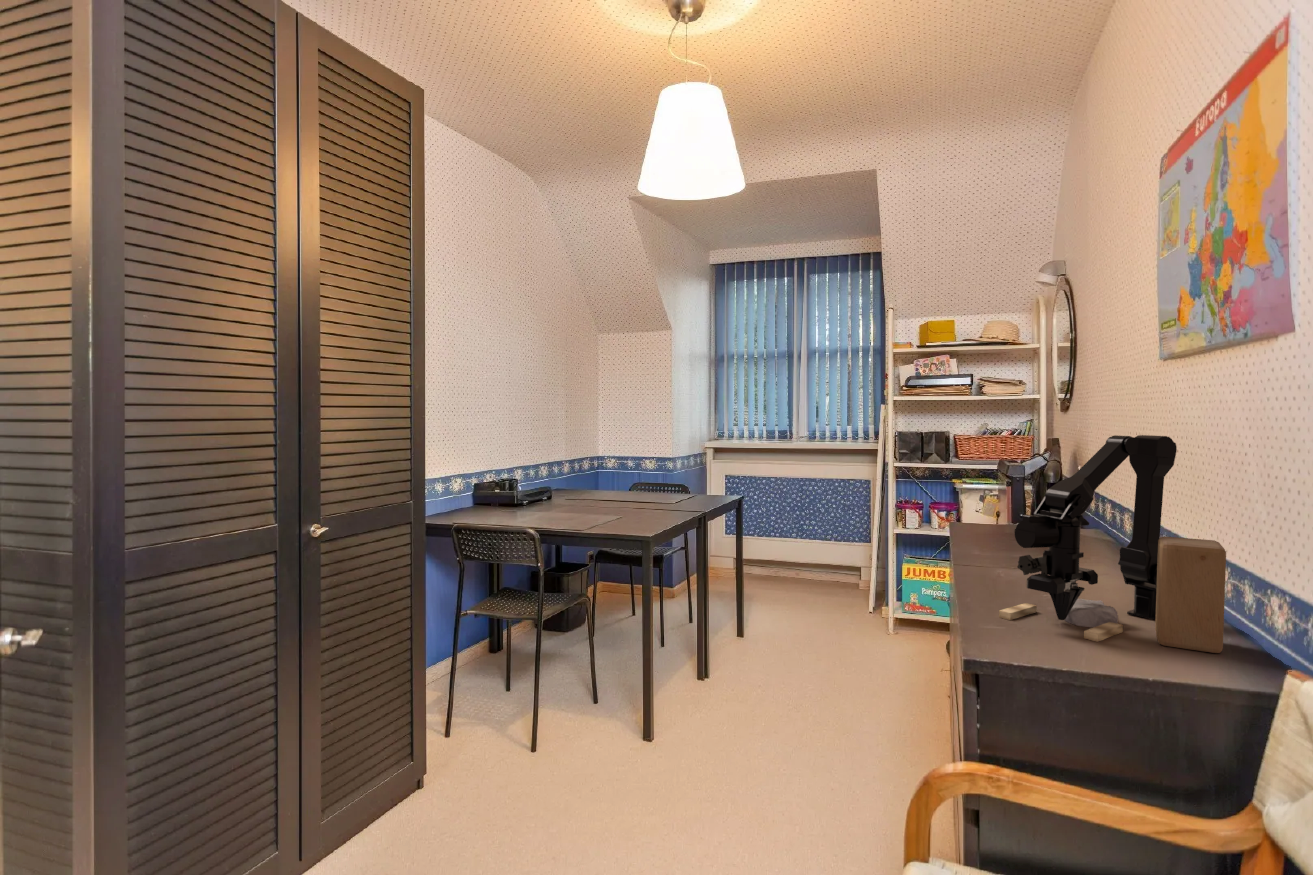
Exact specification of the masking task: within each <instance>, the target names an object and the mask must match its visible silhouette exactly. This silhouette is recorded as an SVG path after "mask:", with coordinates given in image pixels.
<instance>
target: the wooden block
mask: <svg viewBox="0 0 1313 875" xmlns="http://www.w3.org/2000/svg"><path fill="white" fill-rule="evenodd" d="M1226 566H1227V551H1226V549H1225V547H1223V545H1222V544H1221V543H1220V542H1219V541H1217V540H1215V539H1214V540H1213V539H1201V538H1189V537H1188V538H1187V537H1177V536H1161V537H1160V538H1159V540H1158V561H1157V591H1156V620H1155V625H1154V627H1155V628H1154V629H1155V634H1156V639H1157V642H1158V644H1159V645H1162V646H1163V647H1168V648H1169V647H1171V648H1177V649H1184V650H1190V651H1198V652H1203V653H1211V654H1220V653H1222V651H1223V650H1224V624H1225V598H1226V573H1227V572H1226V571H1227V570H1226V568H1227V567H1226Z"/></svg>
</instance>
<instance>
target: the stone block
mask: <svg viewBox="0 0 1313 875" xmlns="http://www.w3.org/2000/svg"><path fill="white" fill-rule="evenodd" d="M1064 621H1065V622H1066V623H1069V624H1071V625H1074V626H1077V627H1083V628H1085V627H1086V628H1094V627H1096V626H1099V625H1102V624H1105V623H1108V622H1113V623H1117V624H1119V615H1118V610H1116V608H1115V607H1113V606H1111V605H1106V604H1104V601H1102V600H1092V599H1085V598H1078V599H1077V600H1076V602H1075V604H1074V605H1073V607H1072V609H1071V610H1070V612H1069V614H1068V615H1067V617H1066V619H1065V620H1064Z"/></svg>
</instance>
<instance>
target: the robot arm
mask: <svg viewBox="0 0 1313 875" xmlns="http://www.w3.org/2000/svg"><path fill="white" fill-rule="evenodd" d="M1176 455H1177V444H1176V442H1174V440H1173V439H1172V438H1171V437H1170V436H1167V435H1147V434H1146V435H1145V434H1140V435H1139V434H1138V435H1137V436H1131V435H1117V434H1115V435H1112V436H1109V437H1107V439H1106V440H1105V444H1104V445H1103V446H1102V447H1100V449H1098V450H1097V452H1095V453H1094V454H1093V455H1092V456H1091V457H1090V459H1089V460H1087V461H1086V463H1084V465H1082V466H1081V468H1079V469H1078V470H1077V471H1076V473H1074V474H1073V475H1072V476H1069V477H1067V478H1064V479H1062V480H1060V481H1058V482H1056V483H1055V484H1054V485H1052V486H1051V487H1050V488H1048V489H1047V490H1046V492H1045V494H1044V497H1043V498H1042V500H1041V502H1040V504H1039V505H1038V507H1037V508H1036V509H1035V511H1034V512H1033V515H1032V514H1031V515H1030V514H1023V515H1022V520H1021V521H1020V522H1018V523H1017V525H1015V528H1014V531H1013V532H1014V538H1015V541H1016V543H1017V544H1018V545H1019V546H1020V547H1021V548H1023V549H1032V548H1033V549H1034V548H1035V549H1038V548H1048V549H1044V551H1043V552H1042V556H1040V557H1039V556H1038V557H1034V558H1033V556H1031V555H1030V554H1026V555H1021V556H1019V557H1018V561H1017V563H1018V564H1017V569H1018V570H1020V571H1021V572H1022V573H1023V576H1028V575H1030V576H1029V577H1027V578H1026V589H1028V590H1035V591H1039V592H1043V593H1048V594H1049V596H1050V598H1051V600H1052V603H1053V607H1054V610H1055V613H1056V617H1057V619H1058V620H1060V621H1065V619H1066V617H1067V615H1068V614H1069V612H1070V610H1071V609H1072V607H1073V605H1074V604H1075V602H1076V600H1077V599H1079V597H1080V596H1081V594H1082V593H1083V591H1085V587H1082V586H1078V585H1079V583H1077V582H1078V581H1083V582H1087V583H1088V584H1089V585H1091V586H1092V585H1096V584H1098V581H1099V580H1098V579H1099V575H1098V573H1097V572H1096V570H1095V569H1090V568H1084V567H1080V559H1081V558H1082V559H1083V558H1084V556H1085V555H1084V552H1082V551H1081V526H1082V527H1085V526H1087V527H1088V526H1089V525H1090V522H1089V521H1088V520H1087V519H1086V518H1084V516H1083V514H1085V512H1086V511H1087V509H1088V508H1089V507H1090V505H1091V504H1092V502H1093V501H1094V495H1095V493H1094V492H1096V490H1097V488H1099V487H1100V485H1101V484H1102V483H1103V482H1104V481H1105V480H1106V479H1108V477H1109V476H1110V475H1111V474H1113V473H1114V472H1115V470H1116V469H1117V468H1118V467H1119V466H1120V465H1121V464H1122V463H1123V462H1124V461H1125V460H1126V459H1127V458H1128V460H1129V464H1130V466H1131V468H1132V469H1133V472H1134V473H1135V474H1136V480H1135V494H1134V495H1135V496H1134V506H1133V507H1134V508H1133V510H1134V511H1133V522H1132V537H1131V540H1130V542H1128V544H1127V546H1121V547H1120V549H1119V561H1118V563H1117V564H1118V566H1119V567H1120V568H1119V569H1120V573H1121V574H1122V577H1123V581H1124V584H1125V585H1130V586H1133V587H1134V591H1133V592H1134V594H1133V609H1131V610H1127V611H1126V612H1127V615H1129V616H1130V615H1131V616H1134V617H1135V616H1136V617H1140V618H1145V619H1150V620H1153V621H1154V620H1155V621H1156V591H1157V561H1158V540H1159V538H1160V536H1161V526H1162V513H1163V512H1162V510H1163V500H1164V499H1163V498H1164V497H1163V496H1164V484H1165V477H1166V475H1167V474H1168V473H1169V471H1170V470H1171V469H1172V468H1173V467H1174V464H1175V461H1176ZM1031 574H1032V575H1031Z"/></svg>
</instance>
